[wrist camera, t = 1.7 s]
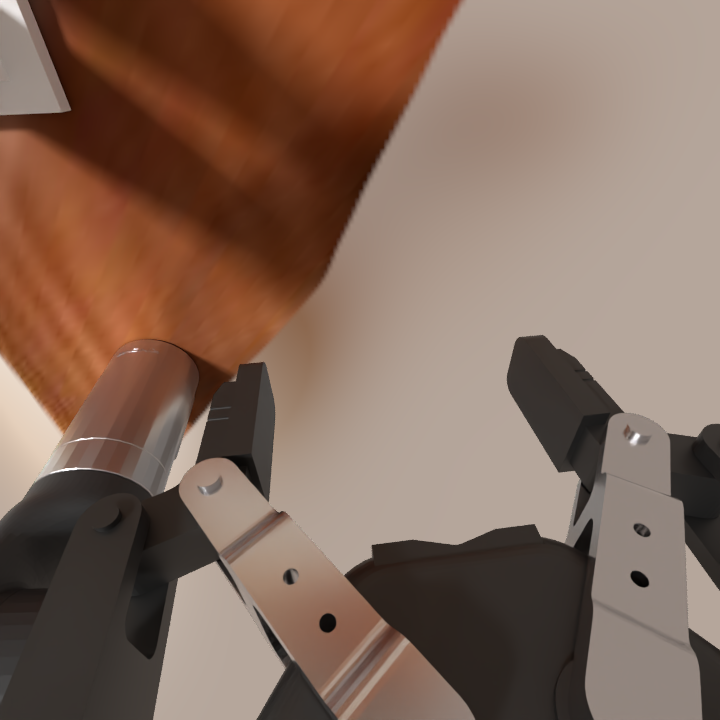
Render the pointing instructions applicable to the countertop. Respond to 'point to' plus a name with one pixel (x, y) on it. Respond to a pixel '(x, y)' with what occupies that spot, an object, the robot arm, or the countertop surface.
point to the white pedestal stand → (26, 65)
